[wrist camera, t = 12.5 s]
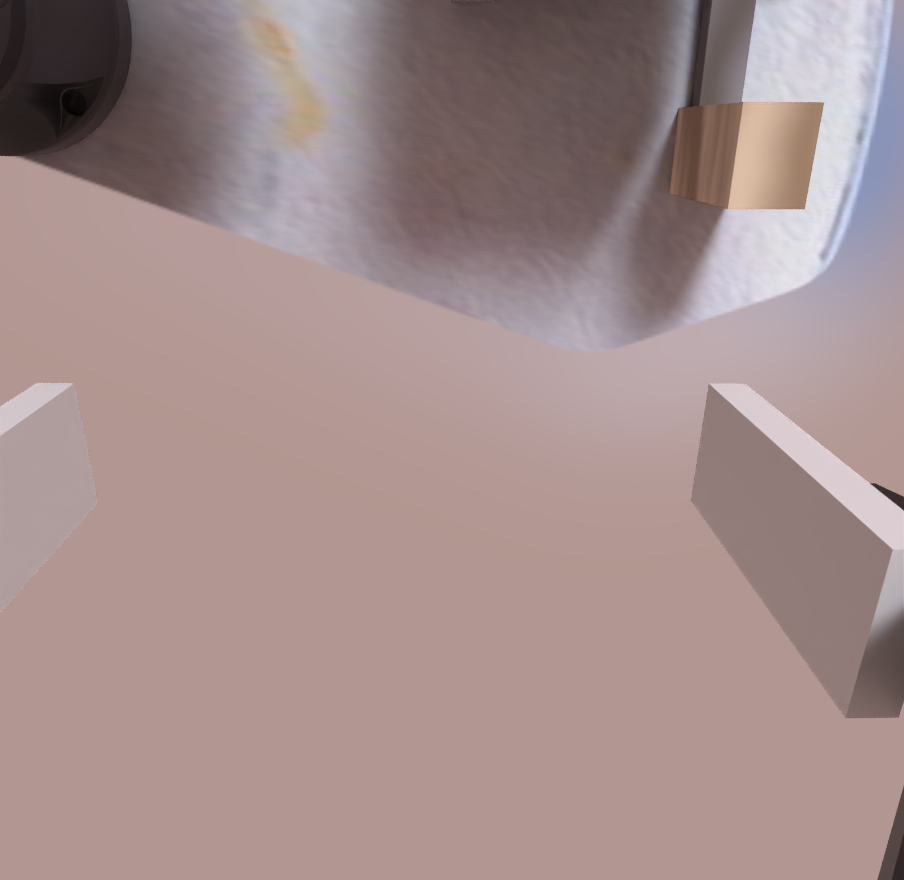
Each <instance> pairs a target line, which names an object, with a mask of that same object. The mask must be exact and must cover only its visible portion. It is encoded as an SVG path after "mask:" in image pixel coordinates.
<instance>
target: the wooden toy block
mask: <svg viewBox="0 0 904 880" xmlns="http://www.w3.org/2000/svg"><path fill="white" fill-rule="evenodd" d="M755 3H756V0H704V1H703V10H702V18H701V26H700V35H699V43H698V52H697V60H696V68H695V77H694V85H693V94H692V102H691V107H684V108H679V110H678V119H677V127H676V136H675V145H674V154H673V163H672V172H671V181H670V189H669V194H672V195H676V196H680V197H683V198H687V199H691V200H695V201H699V202H703V203H707V204H710V205H714V206H718V207H722V208H726V209H805V204H806V198H807V193H808V187H809V182H810V176H811V171H812V165H813V160H814V155H815V149H816V144H817V138H818V133H819V127H820V122H821V116H822V111H823V105H824V103H818V102H742V95H743V88H744V81H745V74H746V67H747V60H748V52H749V45H750V38H751V31H752V24H753V17H754V10H755Z"/></svg>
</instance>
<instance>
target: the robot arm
mask: <svg viewBox="0 0 904 880" xmlns="http://www.w3.org/2000/svg"><path fill="white" fill-rule="evenodd" d="M130 53H131V23H130V15H129V9H128V3H127V0H0V156H26V155H39V154H45V153H50V152H54V151H58V150H61V149H63V148H66V147H69V146H71V145H73V144H75V143H77V142H78V141H80V140H82V139H83V138H85V137H86V136H87V135H89V134H90V133H91V132H92V131H94V130H95V129H96V128H97V127H98V126H99V125H100V124H101V123H102V122H103V121H104V119H105V118H106V117H107V115H108V114H109V113H110V111H111V110H112V108H113V107H114V105H115V103H116V101H117V99H118V98H119V95H120V93H121V91H122V88H123V85H124V82H125V80H126V76H127V72H128V67H129V62H130ZM691 501H692V502H693V504H694V506H695V507H696V508H697V510H698V511H699V513H700V514H701V515H702V517H703V518H704V520H705V521H706V522H707V524H708V525H709V526H710V528H711V529H712V531H713V532H714V533H715V535H716V536H717V538H718V539H719V541H720V542H721V544H722V545H723V546H724V548H725V549H726V551H727V552H728V553H729V555H730V556H731V558H732V559H733V560H734V562H735V563H736V564H737V566H738V567H739V569H740V570H741V572H742V573H743V575H744V576H745V577H746V579H747V580H748V581H749V583H750V584H751V586H752V587H753V589H754V590H755V591H756V593H757V594H758V596H759V597H760V598H761V600H762V601H763V603H764V604H765V605H766V607H767V608H768V610H769V611H770V613H771V614H772V615H773V617H774V618H775V619H776V621H777V622H778V624H779V625H780V627H781V628H782V629H783V631H784V632H785V634H786V635H787V636H788V638H789V639H790V641H791V642H792V644H793V645H794V646H795V648H796V649H797V650H798V652H799V653H800V655H801V656H802V658H803V659H804V660H805V661H806V663H807V664H808V666H809V667H810V669H811V670H812V672H813V673H814V675H815V676H816V677H817V678H818V680H819V681H820V683H821V684H822V686H823V687H824V689H825V690H826V691H827V693H828V694H829V696H830V697H831V698H832V700H833V701H834V703H835V704H836V705H837V707H838V708H839V710H840V711H841V712H842V714H843V715H844V717H845V718H888V717H889V718H892V717H899V715H900V711H901V708H902V705H903V702H904V497H903V496H901V495H899V494H897V493H894V492H892V491H890V490H888V489H886V488H883V487H881V486H879V485H877V484H874V483H873V484H870V483H868V482H867V481H866V480H865V479H863V478H862V477H861V476H860V475H858V474H857V473H856V472H854V471H853V470H852V469H851V468H850V467H848V466H847V465H846V464H845V463H843V462H842V461H841V460H840V459H838V458H837V457H836V456H835V455H833V454H832V453H831V452H830V451H828V450H827V449H826V448H825V447H823V446H822V445H821V444H820V443H818V442H817V441H816V440H815V439H813V438H812V437H811V436H810V435H808V434H807V433H806V432H805V431H803V430H802V429H801V428H800V427H798V426H797V425H796V424H795V423H793V422H792V421H791V420H790V419H788V418H787V417H786V416H785V415H783V414H782V413H781V412H779V411H778V410H777V409H776V408H774V407H773V406H772V405H771V404H770V403H768V402H767V401H766V400H765V399H763V398H762V397H761V396H760V395H758V394H757V393H756V392H754V391H753V390H752V389H751V388H750V387H748V386H747V385H746V384H709V386H708V393H707V400H706V407H705V413H704V420H703V425H702V432H701V438H700V445H699V451H698V458H697V464H696V471H695V478H694V484H693V491H692V497H691ZM97 503H98V499H97V495H96V489H95V484H94V480H93V474H92V469H91V464H90V459H89V454H88V450H87V444H86V439H85V434H84V429H83V424H82V419H81V414H80V409H79V404H78V399H77V394H76V388H75V384H74V383H36V384H34V385H33V386H31V387H30V388H28V389H26V390H25V391H24V392H22V393H20V394H19V395H17V396H16V397H14V398H12V399H11V400H9V401H8V402H6V403H5V404H3V405H2V406H0V613H1V612H2V611H3V609H4V608H5V607H6V606H7V605H8V604H9V603H10V601H11V600H12V599H13V598H14V597H15V596H16V595H17V594H18V593H19V591H20V590H21V589H22V588H23V587H24V586H25V585H26V583H27V582H28V581H29V580H30V579H31V578H32V577H33V576H34V575H35V573H36V572H37V571H38V570H39V569H40V568H41V566H43V564H44V563H45V562H46V561H47V560H48V559H49V558H50V557H51V555H52V554H53V553H54V552H55V551H56V550H57V548H58V547H59V546H60V545H61V544H62V543H63V542H64V541H65V540H66V539H67V537H68V536H69V535H70V534H71V533H72V532H73V531H74V530H75V528H76V527H77V526H78V525H79V524H80V523H81V522H82V521H83V519H84V518H85V517H86V516H87V515H88V514H89V513H90V512H91V510H92V509H93V508H94V507H95V506H96V505H97ZM878 880H904V787H903V791H902V794H901V798H900V802H899V805H898V809H897V812H896V816H895V820H894V823H893V827H892V830H891V834H890V837H889V841H888V844H887V848H886V851H885V855H884V859H883V862H882V866H881V870H880V873H879V877H878Z"/></svg>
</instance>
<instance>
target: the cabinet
mask: <svg viewBox="0 0 904 880" xmlns="http://www.w3.org/2000/svg"><path fill="white" fill-rule="evenodd" d="M495 1H496V0H451V2H493V3H495Z"/></svg>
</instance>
